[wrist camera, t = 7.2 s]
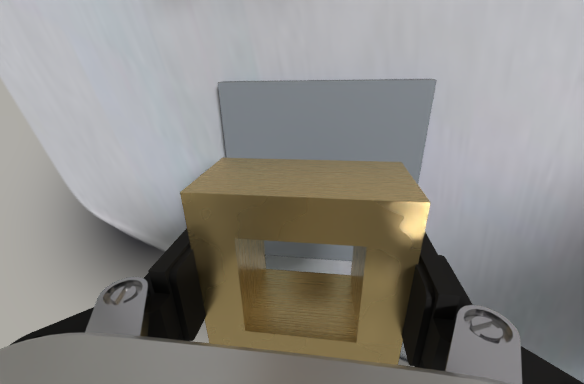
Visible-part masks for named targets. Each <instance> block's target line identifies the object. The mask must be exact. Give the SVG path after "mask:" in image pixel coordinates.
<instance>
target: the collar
mask: <svg viewBox="0 0 584 384" xmlns="http://www.w3.org/2000/svg"><path fill="white" fill-rule="evenodd" d="M180 194H181V199H182V205H183V210H184V215H185V220H186V225H187V230H188V235H189V241H190V246H191V249H193V251H194V256H195V261H196V266H197V272H198V277H199V282H200V287H201V293H202V298H203V303H204V308H205V314H206V317H205V323H206V328H207V333H208V338H209V343H211V344H220V345H230V346H238V347H247V348H256V349H265V350H274V351H283V352H292V353H301V354H309V355H318V356H327V357H335V358H344V359H352V360H360V361H369V362H377V363H386V364H394V365H398V361H399V356H400V352H401V347H402V342H403V339H402V332H403V327H404V321H405V316H406V311H407V306H408V301H409V296H410V291H411V286H412V281H413V276H414V271H415V266H416V264H418V262H419V257H420V252H421V247H422V242H423V237H424V232H425V227H426V222H427V217H428V212H429V207H430V201H429V200H428V198H427V197H426V196H425V194H424V193H423V191H422V190H421V189H420V187H419V186H418V184H417V183H416V182H415V180H414V179H413V177H412V176H411V175H410V173H409V172H408V170H407V169H406V168H405V166H404V165H403V163H402V162H386V161H343V160H300V159H257V158H221V159H220V160H219V161H218V162H217V163H215V164H214V165H213V166H212V167H211V168H209V169H208V170H207V171H206V172H204V173H203V174H202V175H201V176H200V177H198V178H197V179H196V180H195V181H193V182H192V183H191V184H190V185H189V186H187V187H186V188H185V189H184V190H182V191H181V192H180ZM264 240H266V241H282V242H298V243H315V244H331V245H347V246H353V256H352V268H351V275H339V274H326V273H313V272H299V271H286V270H273V269H266V263H265V248H264Z"/></svg>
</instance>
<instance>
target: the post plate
mask: <svg viewBox="0 0 584 384" xmlns="http://www.w3.org/2000/svg"><path fill="white" fill-rule="evenodd" d="M435 85H436V80H435V79H385V80H307V81H228V82H218V90H219V98H220V107H221V115H222V124H223V133H224V141H225V150H226V158H257V159H300V160H343V161H386V162H402V163H403V165H404V166H405V168H406V169H407V170H408V172H409V173H410V175H411V176H412V177H413V179H414V180H415V182H416V183H417V184H418V181H419V175H420V170H421V164H422V158H423V153H424V147H425V142H426V136H427V130H428V125H429V119H430V113H431V108H432V102H433V96H434V91H435ZM264 248H265V255H273V256H287V257H300V258H314V259H328V260H341V261H352V256H353V246H347V245H331V244H315V243H298V242H282V241H266V240H264Z"/></svg>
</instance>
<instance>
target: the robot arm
mask: <svg viewBox="0 0 584 384" xmlns="http://www.w3.org/2000/svg"><path fill="white" fill-rule="evenodd" d="M205 317H206V314H205V308H204V303H203V298H202V293H201V287H200V282H199V277H198V272H197V266H196V261H195V256H194V251H193V249H191V246H190V241H189V235H188V230H187V229H186V230H185V231H184V232H183V233H182V234H181V235H180V236H179V238H178V239H177V240H176V241H175V242H174V243H173V244H172V245H171V246H170V247H169V249H168V250H167V251H166V252H165V253H164V254H163V255H162V256H161V257H160V259H159V260H158V261H157V262H156V263H155V264H154V265H153V266H152V268H150V270H149V273H148V274H147V275H146V276H145V277H144V278H141V277H128V278H124V279H121V280H118V281H116V282H114V283H112V284H111V285H109V286H108V287H106V288H105V289H104V290H103V291H102V292H101V293H100V295H99V297H98V298H97V301H96V304H95V307H93V308H91V309H88V310H86V311H83V312H81V313H79V314H76V315H74V316H71V317H69V318H66V319H64V320H61V321H59V322H57V323H54V324H52V325H49V326H47V327H44V328H42V329H39V330H37V331H35V332H32V333H30V334H28V335H26V336H24V337H22V338H20V339H18V340H17V341H15V342H13V343H12V344H10V345H9V346H7V347H4V348H2V349H0V384H584V383H582V382H581V381H579V380H577V379H576V378H574V377H572V376H570V375H569V374H567V373H565V372H564V371H562V370H560V369H559V368H557V367H555V366H554V365H552V364H550V363H549V362H547V361H545V360H544V359H542V358H540V357H538V356H537V355H535V354H533V353H532V352H530V351H528V350H527V349H525V348H523V347H522V346H521V341H520V335H519V332H518V330H517V329H516V327H515V326H514V324H512V323H511V322H510V321H509V320H508V319H507V318H506V317H504V316H503V315H501V314H500V313H498V312H496V311H494V310H492V309H490V308H486V307H483V306H478V305H473V304H472V303H471V301H470V299H469V298H468V296H467V294H466V292H465V291H464V289H463V287H462V286H461V284H460V282H459V280H458V279H457V277H456V275H455V274H454V272H453V270H452V268H451V267H450V265H449V263H448V262H447V260H446V258H445V257H444V256H442V255H438V254H437V252H436V251H435V249H434V247H433V245H432V243H431V242H430V240H429V238H428V236H427V234H426V232H424V237H423V242H422V247H421V252H420V257H419V262H418V264H416V266H415V271H414V276H413V281H412V286H411V291H410V296H409V301H408V306H407V311H406V316H405V321H404V327H403V332H402V339H403V343H404V347H405V351H406V355H407V359H408V363H409V365H410V366H415V367H410V366H402V365H394V364H386V363H377V362H369V361H360V360H352V359H344V358H335V357H327V356H318V355H309V354H301V353H292V352H283V351H274V350H265V349H256V348H247V347H238V346H230V345H220V344H211V343H202V342H191V341H193V340H194V339H195V337H196V335H197V333H198V331H199V329H200V327H201V325H202V323H203V321H204V319H205Z"/></svg>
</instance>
